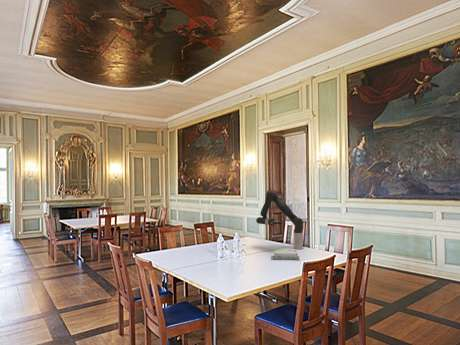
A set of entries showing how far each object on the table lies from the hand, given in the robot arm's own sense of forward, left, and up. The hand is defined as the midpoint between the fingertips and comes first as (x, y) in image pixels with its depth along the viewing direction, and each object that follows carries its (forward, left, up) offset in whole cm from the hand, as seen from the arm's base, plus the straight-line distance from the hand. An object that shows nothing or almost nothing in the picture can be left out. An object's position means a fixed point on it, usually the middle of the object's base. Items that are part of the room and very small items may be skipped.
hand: (281, 223), depth 324 cm
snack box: (+13, +3, -27) cm, 30 cm away
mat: (+22, +3, -30) cm, 37 cm away
